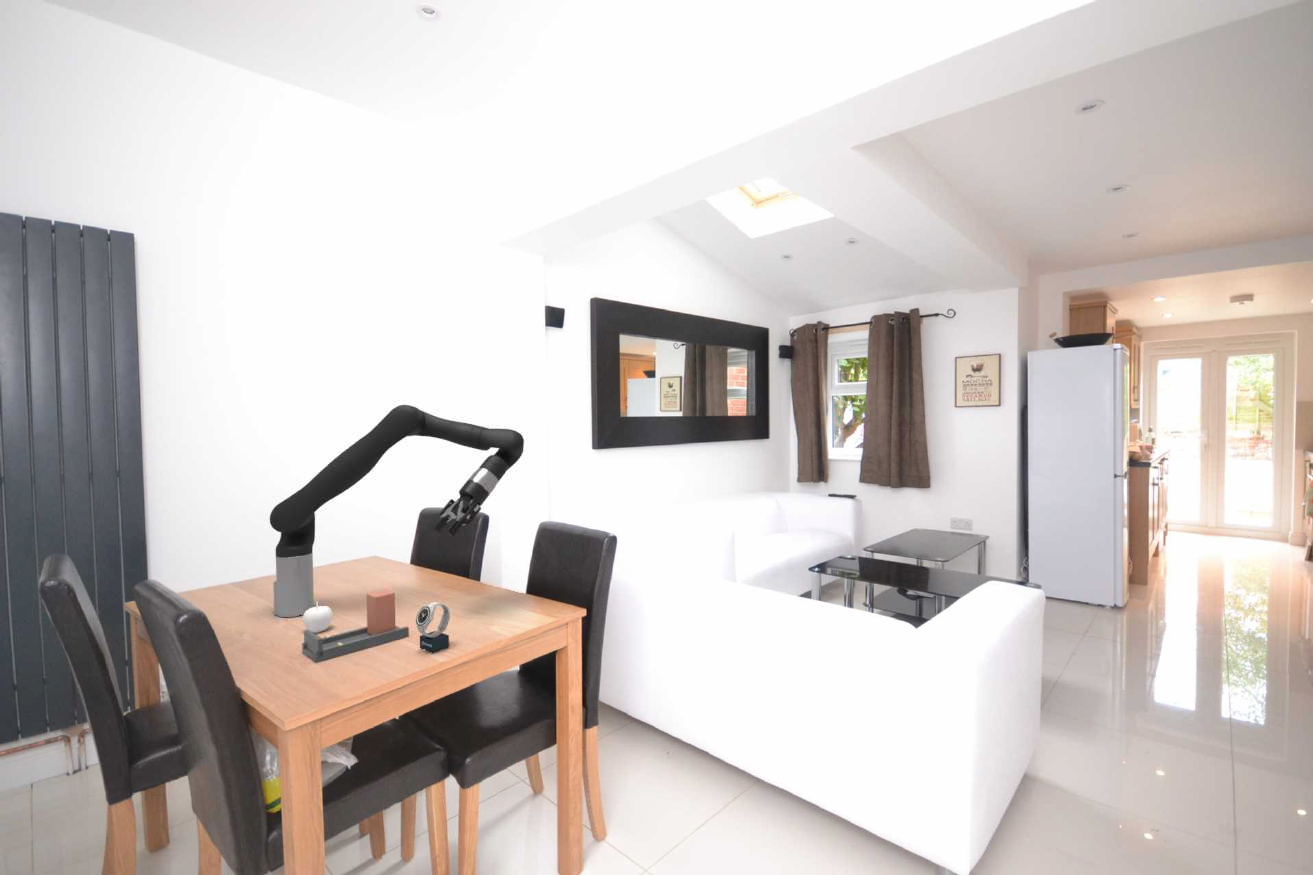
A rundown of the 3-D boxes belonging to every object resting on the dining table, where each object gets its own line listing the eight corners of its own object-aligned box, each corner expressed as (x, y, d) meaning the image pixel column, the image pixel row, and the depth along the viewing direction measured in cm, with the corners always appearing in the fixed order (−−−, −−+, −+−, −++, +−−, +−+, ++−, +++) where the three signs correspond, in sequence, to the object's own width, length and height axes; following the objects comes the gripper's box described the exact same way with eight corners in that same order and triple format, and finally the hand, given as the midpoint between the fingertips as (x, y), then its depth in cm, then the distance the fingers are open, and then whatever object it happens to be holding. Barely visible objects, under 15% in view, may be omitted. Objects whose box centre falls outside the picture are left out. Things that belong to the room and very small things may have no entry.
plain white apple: (299, 636, 155) (298, 606, 155) (307, 627, 162) (306, 598, 162) (329, 633, 157) (328, 603, 157) (335, 624, 164) (335, 595, 164)
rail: (392, 628, 160) (392, 609, 160) (409, 636, 154) (408, 616, 154) (301, 652, 144) (301, 631, 144) (316, 662, 138) (315, 640, 138)
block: (386, 627, 157) (386, 589, 157) (395, 631, 154) (394, 592, 154) (367, 632, 153) (366, 593, 153) (375, 636, 150) (374, 597, 150)
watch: (412, 651, 144) (411, 605, 144) (441, 640, 151) (440, 597, 151) (426, 656, 141) (425, 609, 141) (455, 645, 148) (454, 601, 148)
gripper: (457, 477, 177) (420, 521, 169) (484, 479, 168) (447, 527, 159) (474, 493, 181) (438, 537, 173) (501, 496, 172) (465, 543, 163)
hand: (442, 532), depth 166 cm, fingers open, 7 cm apart
